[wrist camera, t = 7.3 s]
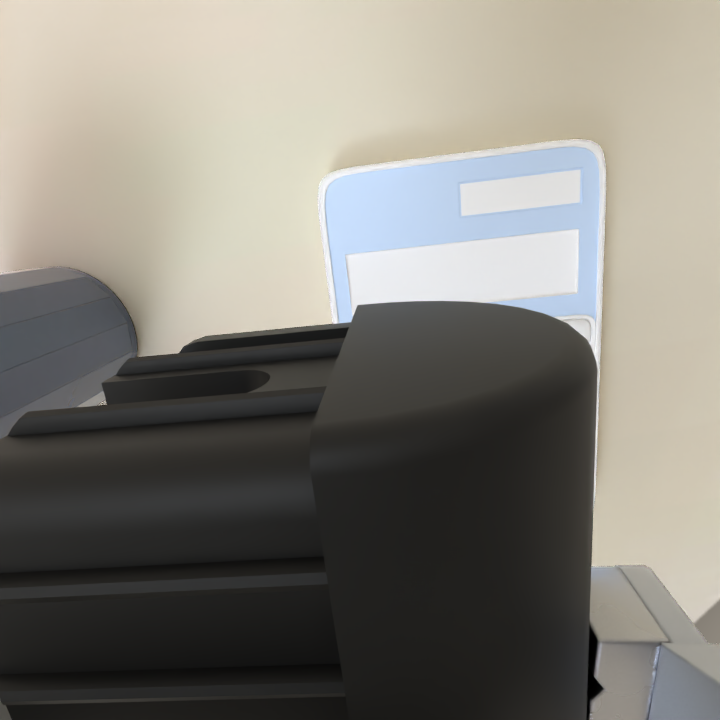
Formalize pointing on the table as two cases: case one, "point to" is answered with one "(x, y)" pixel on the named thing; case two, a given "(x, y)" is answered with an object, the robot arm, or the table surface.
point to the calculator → (472, 233)
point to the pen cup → (58, 341)
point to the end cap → (311, 527)
